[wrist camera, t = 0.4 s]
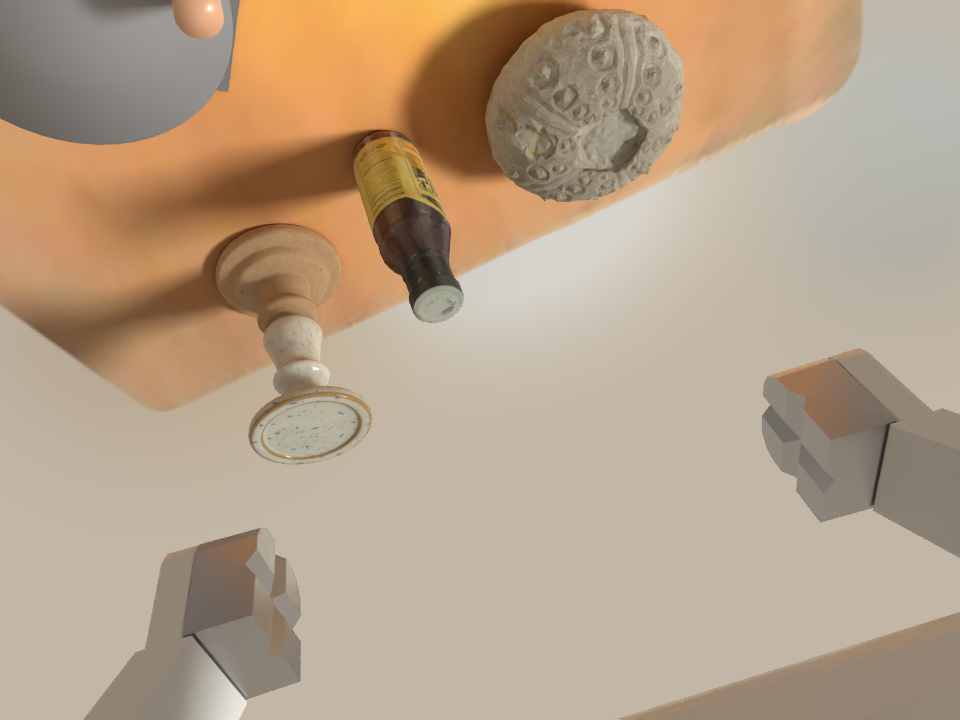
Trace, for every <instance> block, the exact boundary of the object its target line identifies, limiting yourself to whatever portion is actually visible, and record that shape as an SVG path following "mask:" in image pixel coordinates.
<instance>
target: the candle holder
mask: <svg viewBox="0 0 960 720" xmlns="http://www.w3.org/2000/svg"><path fill="white" fill-rule="evenodd" d="M340 277H341V262H340V258H339V255H338V253H337V251H336V249H335V248H334V246H333V245H332V244H331V243H330V241H328V240H327V239H326V238H325V237H324V236H322V235H321V234H319V233H318V232H316V231H313V230H311V229H309V228H306V227H302V226H298V225H291V224H275V225H267V226H263V227H259V228H256V229H253V230H250V231H248V232H246V233H244V234H242V235H240V236H239V237H237V238H236V239H234V240H233V241H232V242H231V243H230V244H229V245H228V246H227V247H226V248H225V249H224V251H223V252H222V253H221V255H220V257H219V259H218V262H217V266H216V274H215V279H216V284H217V287H218V290H219V292H220V294H221V295H222V297H223V298H224V299H225V301H226V302H227V303H228V304H229V305H230V306H232V307H233V308H235V309H236V310H238V311H239V312H242V313H244V314H246V315H249V316H252V317H257V321H258V326H259V328H260V330H261V331H262V332H263V333H264V337H263V344H264V347H265V350H266V352H267V353H268V355H269V356H270V358H271V359H272V361H273V363H274V364H275V366H276V369H277V373H276V374H275V376H274V378H273V385H274V388H275V390H276V391H277V392H278V393H280V394H281V396H279V397H277V398H275V399H274V400H272V401H270V402H269V403H267V404H266V405H265V406H264V407H262V408H261V409H260V410H259V411H258V412H257V413H256V415H255V416H254V418H253V419H252V421H251V424H250V427H249V434H248V436H249V441H250V444H251V446H252V448H253V450H254V451H255V452H256V453H257V454H258V455H260V456H261V457H263V458H265V459H267V460H269V461H273V462H276V463H282V464H308V463H315V462H320V461H323V460H327V459H330V458H332V457H335V456H338V455H340V454H342V453H344V452H346V451H348V450H349V449H351V448H352V447H354V446H355V445H356V444H358V443H359V442H360V441H361V440H362V439H363V438H364V437H365V436H366V434H367V433H368V431H369V429H370V426H371V423H372V413H371V410H370V407H369V405H368V404H367V402H366V401H365V400H364V399H363V398H362V397H361V396H360V395H358V394H357V393H355V392H353V391H350V390H347V389H344V388H340V387H333V386H326V385H327V383H328V382H329V379H330V373H329V370H328V369H327V367H326V366H325V365H324V364H322V363H321V349H322V343H323V333H322V329H321V328H320V326H319V325H318V322H319V320H320V311H319V308H318V306H320V305H322V304H323V303H324V302H325V301H326V300H328V298H329V297H330V296H331V295H332V294H333V293H334V291H335V289H336V288H337V286H338V283H339V281H340Z"/></svg>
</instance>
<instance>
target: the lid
mask: <svg viewBox="0 0 960 720" xmlns="http://www.w3.org/2000/svg"><path fill="white" fill-rule="evenodd" d="M232 38H233V23H232V12H231V6H230V2H229V0H0V118H1V119H3V120H5V121H7V122H9V123H11V124H13V125H16V126H18V127H20V128H23V129H25V130H28V131H31V132H34V133H36V134H39V135H43V136H46V137H50V138H54V139H58V140H63V141H69V142H75V143H82V144H97V145H105V144H122V143H129V142H136V141H140V140H144V139H148V138H152V137H155V136H157V135H160V134H162V133H165V132H168V131H170V130H171V129H173V128H175V127H177V126H179V125H181V124H182V123H184V122H185V121H187V120H188V119H189V118H191V117H192V116H193V115H195V114H196V113H197V112H198V111H199V110H200V109H201V108H202V107H203V106H204V105H205V104H206V103H207V102H208V101H209V99H210V98H211V97H212V95H213V94H214V93H215V91H216V90H217V88H218V86H219V84H220V82H221V80H222V79H223V77H224V74H225V71H226V68H227V66H228V63H229V59H230V54H231V49H232Z"/></svg>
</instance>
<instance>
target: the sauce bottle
mask: <svg viewBox="0 0 960 720" xmlns="http://www.w3.org/2000/svg"><path fill="white" fill-rule="evenodd" d="M353 169H354V176H355V179H356V182H357V185H358V189H359V192H360V195H361V198H362V201H363V205H364V208H365V211H366V214H367V217H368V220H369V223H370V227H371V230H372V233H373V236H374V238H375V241H376V243H377V244H378V246H379V251H380V255H381V256H382V258H383V260H384V263H385V264H386V265H387V266H388V267H389V268H390V269H391V270H393V271H394V272H395V273H397V274H399V275H401V276H402V277H403V281H404V282H405V283H406V286H407V288H408V291H409V302H410V305H411V308H412V310H413V313H414V314H415V316H416V317H417V318H418V319H419V320H421V321H424V322H428V323H437V322H442V321H445V320H447V319H449V318H451V317H452V316H454V315H455V314H456V313H457V312H458V311H459V309H460V308H461V306H462V304H463V298H464V297H463V293H462V290H461V287H460V284H459V282H458V281H457V280H456V279H455V278H454V276H453V274H452V271H451V268H450V264H449V253H450V237H451V228H450V225H449V222H448V220H447V217H446V215H445V213H444V211H443V208H442V206H441V204H440V201H439V199H438V196H437V194H436V192H435V189H434V187H433V185H432V182H431V180H430V178H429V175H428V173H427V171H426V168H425V166H424V164H423V161H422V159H421V157H420V155H419V152H418V150H417V149H416V148H415V146H414V145H413V144H412V143H411V141H410V140H409V139H408V138H407V137H406V136H404V135H403V134H401V133H399V132H395V131H379V132H375V133H373V134H371V135H369V136H367V137H366V138H365V139H364V140H362V141H361V142H360V143H359V144H358V145H357V147H356V148H355V152H354V155H353Z"/></svg>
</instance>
